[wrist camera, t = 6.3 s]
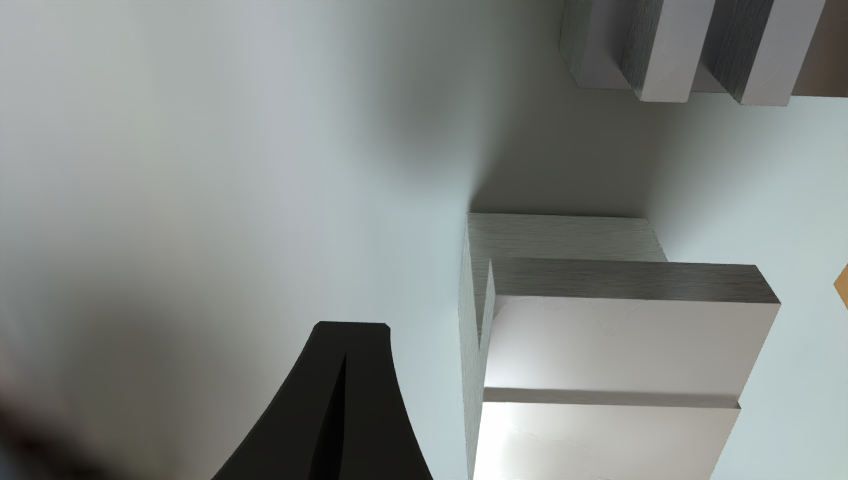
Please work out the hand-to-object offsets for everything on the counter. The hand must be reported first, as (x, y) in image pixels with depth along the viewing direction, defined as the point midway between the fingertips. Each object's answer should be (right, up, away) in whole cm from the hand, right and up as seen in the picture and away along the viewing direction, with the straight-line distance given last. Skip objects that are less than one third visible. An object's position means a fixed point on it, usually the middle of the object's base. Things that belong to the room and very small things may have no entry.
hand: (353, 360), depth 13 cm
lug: (+4, +3, +2) cm, 5 cm away
